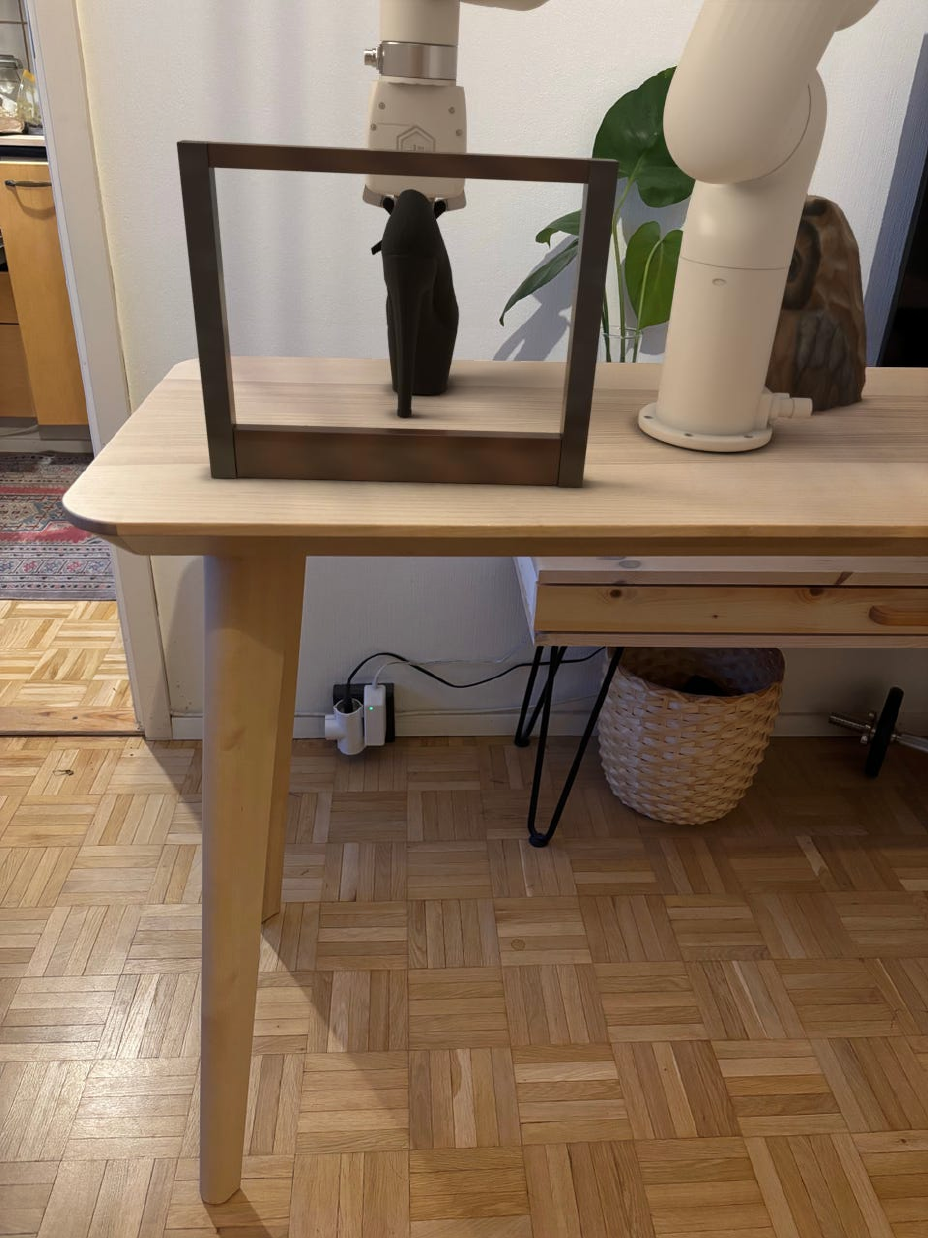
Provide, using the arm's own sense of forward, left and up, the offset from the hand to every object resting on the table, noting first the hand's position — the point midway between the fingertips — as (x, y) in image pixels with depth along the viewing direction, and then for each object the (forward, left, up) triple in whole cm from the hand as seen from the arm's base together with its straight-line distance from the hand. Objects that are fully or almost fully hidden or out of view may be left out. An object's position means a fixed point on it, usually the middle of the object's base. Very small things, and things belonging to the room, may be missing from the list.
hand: (412, 265), depth 99 cm
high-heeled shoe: (0, +10, -11) cm, 15 cm away
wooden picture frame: (+1, +33, -11) cm, 35 cm away
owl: (-42, +7, -11) cm, 44 cm away
